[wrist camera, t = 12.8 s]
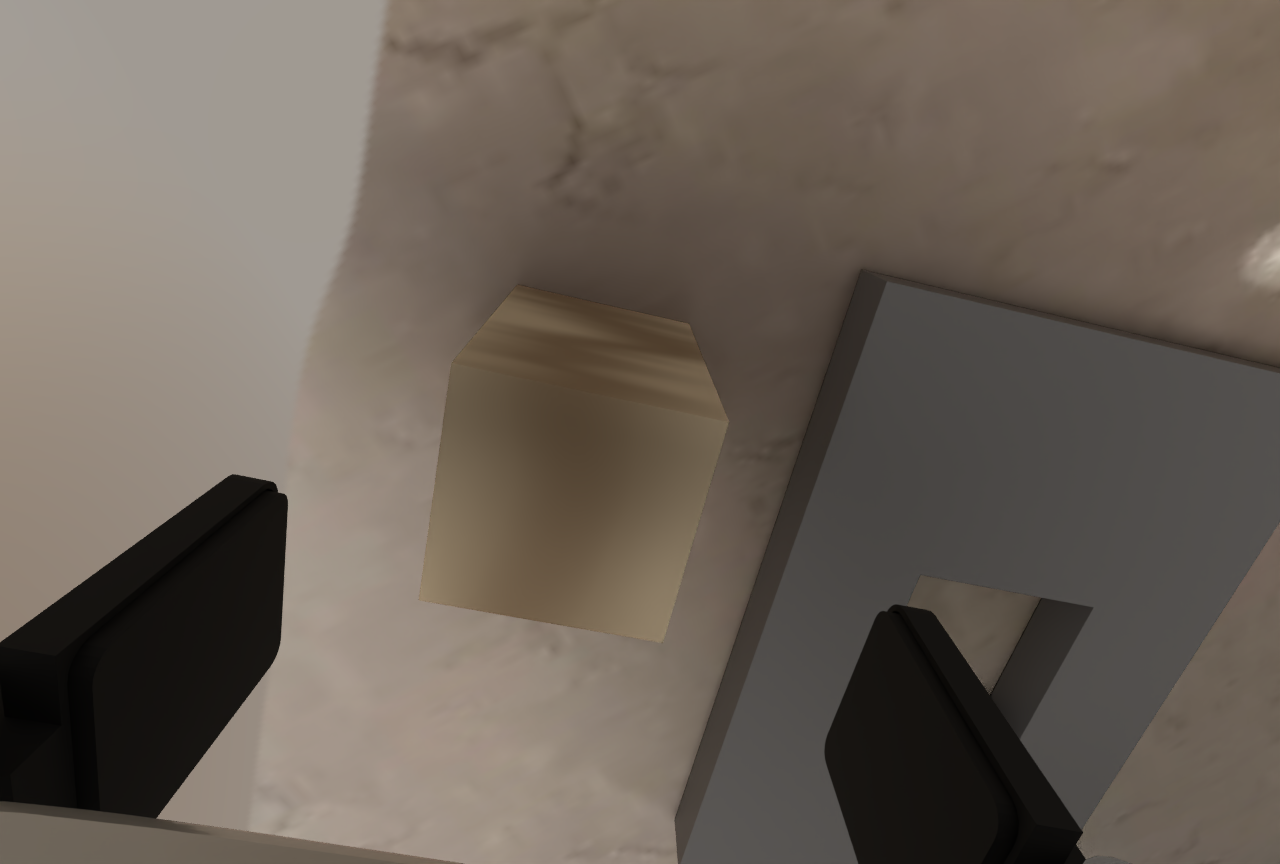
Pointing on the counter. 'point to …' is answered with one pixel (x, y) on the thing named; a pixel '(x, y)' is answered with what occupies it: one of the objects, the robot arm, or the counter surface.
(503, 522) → the beige rectangular block
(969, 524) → the grey plate with hole
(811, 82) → the counter surface
